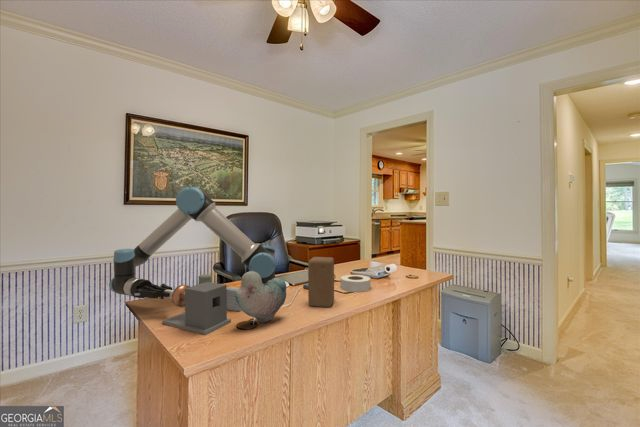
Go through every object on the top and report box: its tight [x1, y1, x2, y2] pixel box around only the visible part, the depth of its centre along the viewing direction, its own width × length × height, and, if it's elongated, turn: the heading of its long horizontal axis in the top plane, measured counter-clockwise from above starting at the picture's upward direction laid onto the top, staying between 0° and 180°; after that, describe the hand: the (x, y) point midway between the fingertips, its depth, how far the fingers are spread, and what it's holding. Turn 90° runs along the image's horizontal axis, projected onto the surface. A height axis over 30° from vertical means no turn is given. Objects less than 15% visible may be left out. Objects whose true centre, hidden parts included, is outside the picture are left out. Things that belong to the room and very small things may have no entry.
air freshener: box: [198, 273, 213, 284], centre depth 143 cm, size 11×8×10 cm
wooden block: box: [307, 256, 335, 308], centre depth 131 cm, size 10×10×20 cm
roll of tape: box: [339, 274, 372, 293], centre depth 156 cm, size 16×16×6 cm
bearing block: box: [161, 282, 232, 336], centre depth 110 cm, size 22×12×14 cm, turn 64°
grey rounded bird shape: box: [235, 270, 287, 323], centre depth 110 cm, size 21×9×20 cm, turn 130°
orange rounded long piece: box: [171, 284, 191, 308], centre depth 110 cm, size 14×8×8 cm, turn 64°
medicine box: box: [226, 286, 243, 312], centre depth 124 cm, size 8×4×9 cm, turn 71°
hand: (177, 295), depth 114 cm, fingers closed
